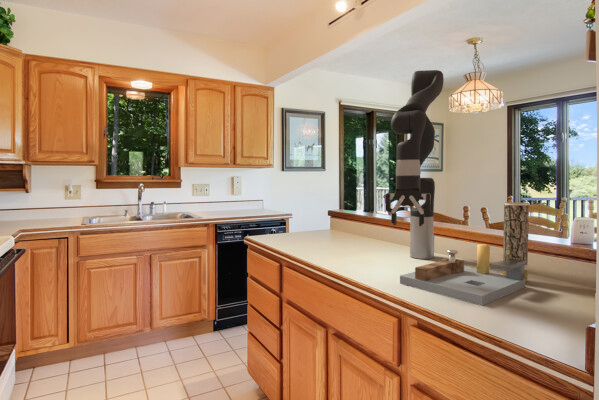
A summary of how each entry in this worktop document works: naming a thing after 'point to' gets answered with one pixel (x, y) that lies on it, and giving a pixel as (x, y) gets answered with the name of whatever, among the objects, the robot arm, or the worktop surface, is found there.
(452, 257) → the pintle
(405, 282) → the board
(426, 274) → the link
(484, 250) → the pin
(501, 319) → the worktop surface
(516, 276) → the keeper
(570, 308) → the worktop surface
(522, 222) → the brown bark-textured cylinder
